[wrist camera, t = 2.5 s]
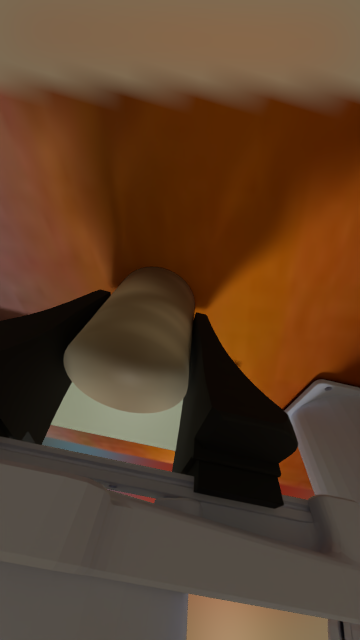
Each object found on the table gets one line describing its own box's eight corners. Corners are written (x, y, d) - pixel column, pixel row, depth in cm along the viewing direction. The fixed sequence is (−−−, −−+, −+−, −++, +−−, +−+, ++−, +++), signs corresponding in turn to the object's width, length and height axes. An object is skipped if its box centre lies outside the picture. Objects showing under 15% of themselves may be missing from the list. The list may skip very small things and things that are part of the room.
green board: (231, 374, 16) (234, 390, 14) (193, 440, 23) (192, 454, 22) (-40, 313, 15) (-61, 324, 14) (12, 401, 23) (1, 414, 21)
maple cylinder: (204, 278, 11) (203, 350, 6) (185, 340, 14) (174, 422, 9) (120, 257, 11) (52, 316, 6) (118, 324, 14) (72, 400, 9)
